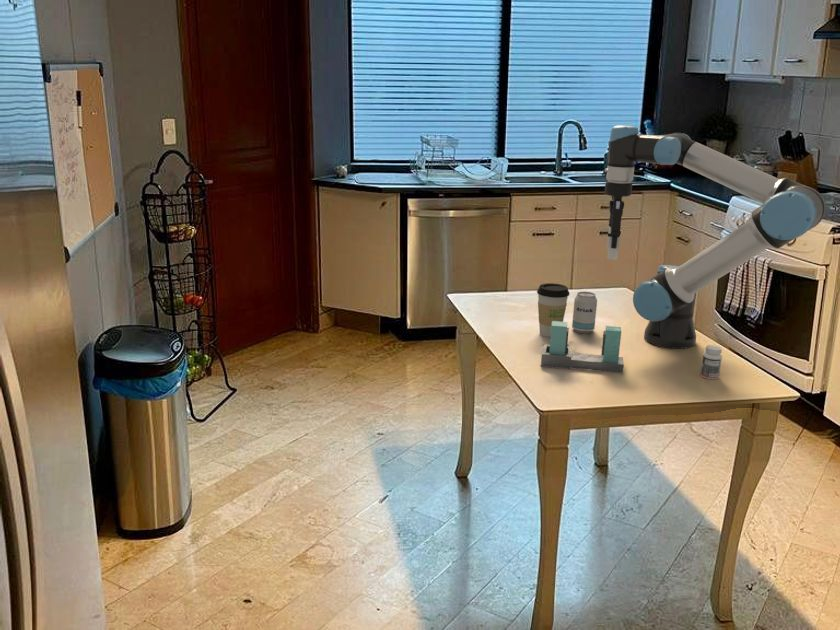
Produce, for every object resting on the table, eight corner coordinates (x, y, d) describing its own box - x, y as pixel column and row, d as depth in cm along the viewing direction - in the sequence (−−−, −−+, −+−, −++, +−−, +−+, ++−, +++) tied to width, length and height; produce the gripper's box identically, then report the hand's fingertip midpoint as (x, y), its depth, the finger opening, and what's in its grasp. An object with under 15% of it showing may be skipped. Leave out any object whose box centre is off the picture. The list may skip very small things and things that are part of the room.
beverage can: (571, 333, 247) (574, 295, 243) (572, 326, 253) (575, 290, 250) (593, 335, 245) (597, 298, 242) (594, 328, 252) (598, 292, 248)
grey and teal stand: (621, 364, 222) (626, 325, 219) (622, 374, 215) (627, 334, 211) (542, 356, 226) (545, 318, 223) (540, 366, 219) (544, 326, 215)
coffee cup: (565, 340, 240) (569, 292, 236) (532, 337, 242) (536, 289, 237) (566, 330, 249) (570, 284, 245) (534, 327, 251) (538, 281, 247)
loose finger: (566, 353, 222) (569, 322, 220) (566, 358, 218) (569, 327, 216) (549, 351, 223) (552, 320, 221) (548, 356, 219) (551, 325, 217)
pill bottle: (704, 371, 218) (708, 343, 216) (721, 376, 215) (725, 347, 213) (697, 376, 215) (701, 347, 212) (715, 381, 212) (719, 351, 209)
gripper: (604, 175, 240) (598, 244, 246) (606, 186, 216) (599, 262, 223) (630, 176, 238) (623, 245, 245) (635, 188, 215) (626, 264, 221)
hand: (611, 253), depth 234 cm, fingers open, 13 cm apart
